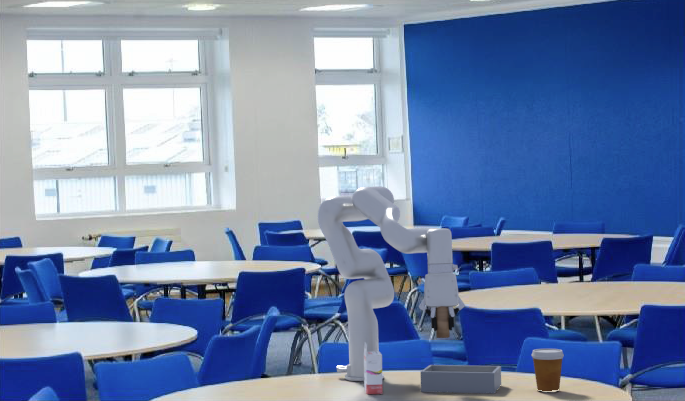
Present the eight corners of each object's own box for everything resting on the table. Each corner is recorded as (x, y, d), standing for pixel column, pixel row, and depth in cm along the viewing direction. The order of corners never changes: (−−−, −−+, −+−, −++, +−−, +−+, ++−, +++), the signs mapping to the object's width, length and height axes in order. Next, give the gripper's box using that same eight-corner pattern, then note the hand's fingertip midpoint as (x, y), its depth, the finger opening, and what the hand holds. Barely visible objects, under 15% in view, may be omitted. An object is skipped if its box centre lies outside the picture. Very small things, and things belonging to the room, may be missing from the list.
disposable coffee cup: (545, 395, 353) (544, 353, 353) (525, 390, 361) (524, 350, 361) (571, 391, 357) (570, 350, 357) (551, 387, 366) (550, 347, 366)
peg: (435, 336, 369) (434, 303, 369) (448, 336, 369) (447, 303, 369) (437, 338, 365) (435, 304, 365) (450, 337, 365) (449, 304, 365)
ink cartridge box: (383, 394, 361) (382, 344, 361) (366, 394, 361) (365, 345, 361) (380, 389, 370) (379, 340, 369) (364, 390, 369) (362, 341, 369)
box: (420, 391, 363) (420, 371, 363) (430, 384, 377) (429, 364, 377) (494, 393, 357) (494, 372, 357) (501, 385, 371) (500, 366, 371)
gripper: (466, 267, 371) (469, 328, 371) (411, 270, 371) (414, 330, 371) (469, 269, 364) (472, 330, 364) (413, 271, 363) (415, 332, 363)
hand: (442, 329), depth 367 cm, fingers closed on peg, 4 cm apart
